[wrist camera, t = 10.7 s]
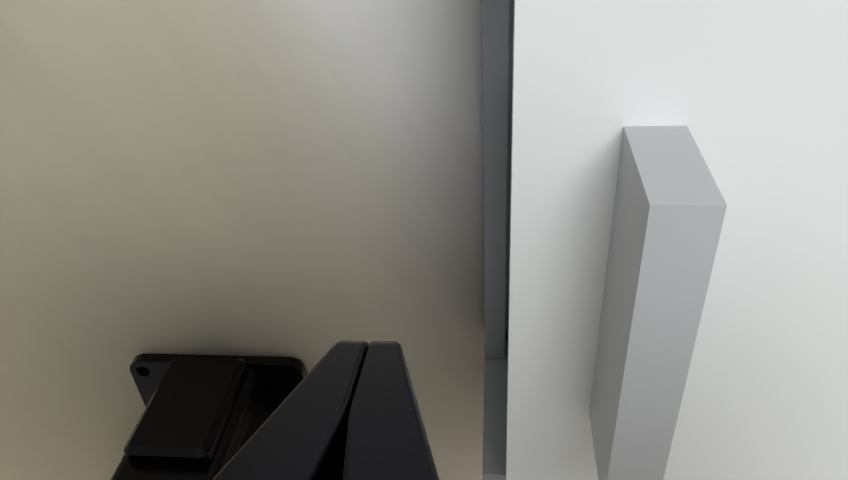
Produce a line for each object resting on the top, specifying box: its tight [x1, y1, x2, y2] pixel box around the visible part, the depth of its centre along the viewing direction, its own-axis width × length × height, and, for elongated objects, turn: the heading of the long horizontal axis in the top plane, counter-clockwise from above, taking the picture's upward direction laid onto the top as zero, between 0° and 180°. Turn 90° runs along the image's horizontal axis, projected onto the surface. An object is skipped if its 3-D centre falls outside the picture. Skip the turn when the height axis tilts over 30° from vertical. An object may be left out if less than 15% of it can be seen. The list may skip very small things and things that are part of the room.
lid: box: [506, 0, 848, 480], centre depth 12 cm, size 13×12×3 cm
